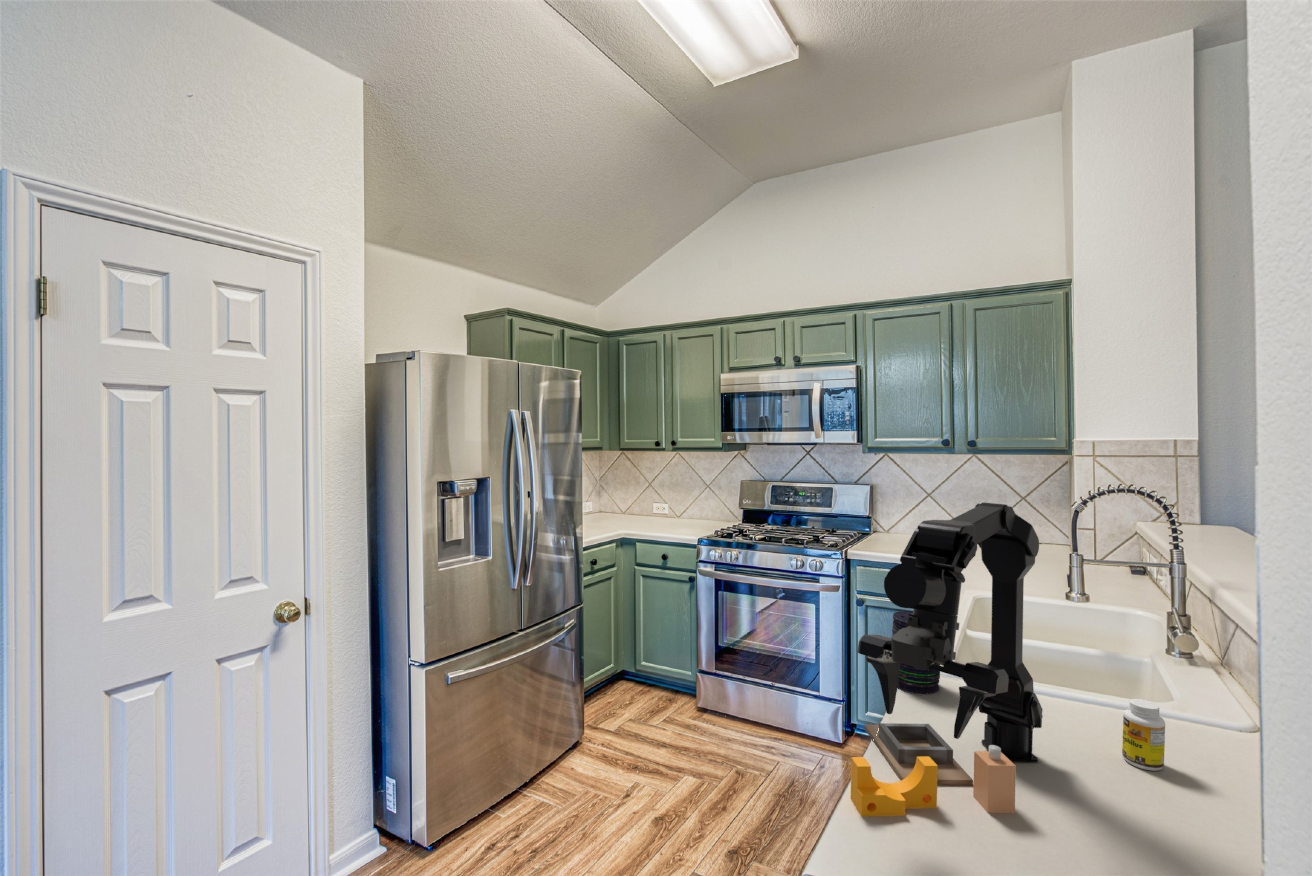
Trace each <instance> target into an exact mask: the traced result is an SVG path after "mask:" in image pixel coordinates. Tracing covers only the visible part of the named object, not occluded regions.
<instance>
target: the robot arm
mask: <svg viewBox="0 0 1312 876" xmlns="http://www.w3.org/2000/svg"><path fill="white" fill-rule="evenodd" d="M978 546H979V548H980V552H981V553H980V554H981V560H982V563H983V565H984V566H985V568H986V569H987V571H988V572H989V574H990V576H991V626H990V627H991V630H990V631H991V632H990V633H991V635H990V636H991V641H990V643H991V644H990V661H989V662H988V663H987V664H986V663H983V662H979V661H974V662H965V663H960V662H957V661H956V656H957V652H956V651H954V650H955V643H956V633H957V631H959V630H960V622H958V615H959V607H960V598H961V589H962V584H964V583H965V582H966V578H965V576H964V575H965V574H963V573H962V572H963V571H964V569H966V568H967V567H968V566H969V564H970V563H971V561H972V560H973V558H975V557H976V556H977V555H976V552H977V551H978ZM1039 549H1040V540H1039V536H1038V535H1037V532H1036V530H1035V528H1034V526H1033V525H1032V524H1031V523H1030V522H1028V521H1027V520H1026V519H1024V518H1022V517H1021V516H1019V515H1018V514H1017V513H1016V512H1015V510H1014V508H1013V507H1012V506H1009V505H1008V504H1006V503H1005V504H1004V503H1003V504H1002V503H996V502H995V503H993V502H986V501H985V502H981V503H976V505H975V507H973V508H971V509H968V511H965V512H963V513H962V514H959V515H958V516H955V517H953V518H952V519H927V520H923V521H921V522H920V523H919V524H918V525H917V527H916V528H915V530H914V531H913V533H912V535H911V537H910V539H909V541H908V542H907V545H906V546H905V549H904V550H903V552H902V554H901V556H900V559H899V561H900V563H899V564H897V565H894V566H893V567H891V569H890V570H889V571H888V572H887V574H886V575H885V577H884V581H883V588H884V589H883V590H884V593H885V594H886V597H887V598H888V600H889V601H890V602H891V603H892V604H893V605H895V606H896V607H899V608H903V609H910V610H912V611H913V614H909V617H908V622H907V625H906V627H905V628H902V629H901V630H899V631H898V632H897V633H895V634H894V635H893V636H892V635H891V637H888V636H883V635H879V634H864V635H862V636H861V637H860V639H859V641H858V644H857V645H858V646H857V654H859V655H861V656H862V655H863V656H866V657H865V659H864V660H865V662H867V663H868V664H871V666H872V668H874V670H875V672H876V674H877V677H878V681H879V684H880V688H881V693H882V699H883V702H884V707H885V712H886V714H887V715H891V714H893V712H894V709H895V704H896V698H897V690H898V688H897V685H898V676H899V670H900V663H904V664H908V665H911V666H913V667H914V668H916V669H921V670H925V669H928V668H930V669H933V670H937V671H940V673H944V674H947V675H950V676H954V677H958V678H960V679H962V680H963V682H964V683H965V684H966V685H964V686H958V691H959V692H958V694H959V701H958V707H957V712H956V717H955V720H954V721H955V722H954V728H953V738H954V739H955V740H957V739H960V737H961V736H962V734H963V732H964V731H965V729H966V727H967V726H968V724H969V722H970V720H971V718H972V717H973V715H974V714H975V712H976V710H977V709H978V711H979V713H981V714H986V718H987V719H986V721H985V722H984V726H983V727H984V731H983V733H984V734H983V735H984V737H983V738H984V739H981V744H982V745H983V746H985V748H986V749H987V750H989V745H996V746H998V747H1000V748H1001V752H1002V753H1003V754H1004V755H1005V756H1006V757H1007V758H1008V759H1009V760H1010V761H1011V762H1021V763H1023V762H1025V763H1026V762H1029V763H1030V762H1031V763H1036V762H1039V757H1038V756H1036V755H1035V754H1034V753H1033V740H1034V739H1033V738H1034V737H1033V735H1034V734H1033V731H1034V729H1042V726H1043V712H1044V711H1043V710H1044V709H1043V707H1042V704H1041V703H1040V701H1039V699H1038V696H1037V694H1036V693H1035V692H1034V691H1035V690H1034V678H1033V677H1032V675H1031V674H1030V672H1029V670H1028V669H1027V666H1026V665H1025V664H1024V662H1023V648H1024V647H1023V643H1024V642H1023V641H1024V639H1023V638H1024V636H1023V633H1024V631H1023V630H1024V586H1025V585H1024V579H1025V577H1026V576H1027V574H1028V573H1029V571H1030V570H1031V569H1032V568H1033V567H1034V565H1035V563H1036V557H1037V556H1038V553H1039V551H1040V550H1039ZM934 663H936V664H939V665H936V664H934Z"/></svg>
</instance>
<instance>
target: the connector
mask: <svg viewBox="0 0 1312 876" xmlns="http://www.w3.org/2000/svg"><path fill="white" fill-rule="evenodd" d="M1016 770H1017V766H1016V764H1015V763H1013V761H1010V760H1009V759H1008V758H1007V757H1006V756H1005V755H1004V754H1003V753H1002V752H1001V748H1000V747H998V746H996V745H989V749H988V751H986V750H985V751H984V750H982V751H981V750H974V752H973V792H972V793H973V795H972V796H973V798H974V799H975V801H976V802H978V804H979V805H980V806H981V808H982V809H984V811H985V812H986V813H987V814H1015V813H1016V778H1017V777H1016V775H1017V773H1016Z"/></svg>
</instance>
